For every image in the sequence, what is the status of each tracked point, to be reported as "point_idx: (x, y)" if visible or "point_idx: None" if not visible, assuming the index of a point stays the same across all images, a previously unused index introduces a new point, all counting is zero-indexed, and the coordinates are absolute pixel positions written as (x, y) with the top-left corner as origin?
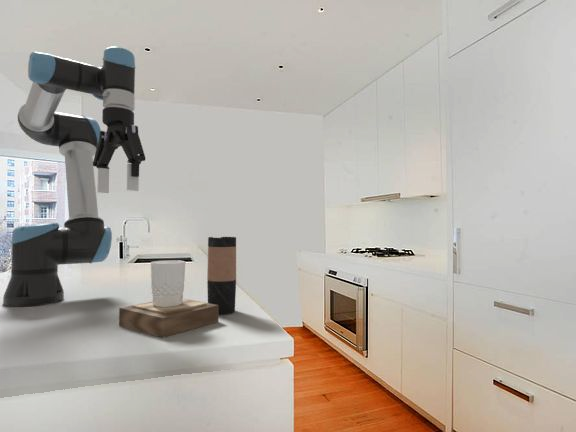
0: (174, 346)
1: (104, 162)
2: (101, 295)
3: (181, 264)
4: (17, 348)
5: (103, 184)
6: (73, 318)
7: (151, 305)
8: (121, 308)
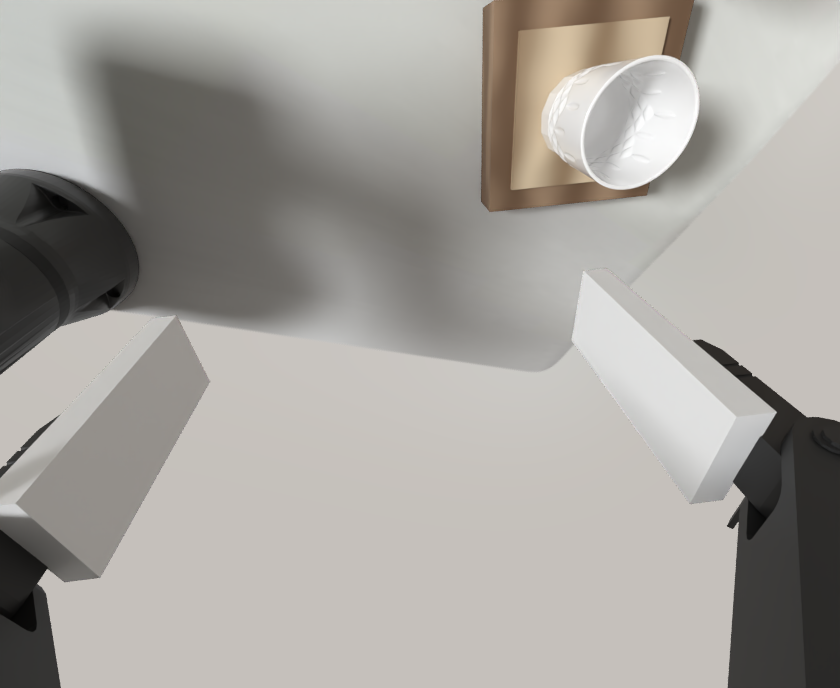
0: (679, 199)
1: (19, 641)
2: (11, 34)
3: (695, 108)
4: (479, 352)
5: (167, 398)
6: (348, 243)
7: (552, 156)
8: (498, 210)
